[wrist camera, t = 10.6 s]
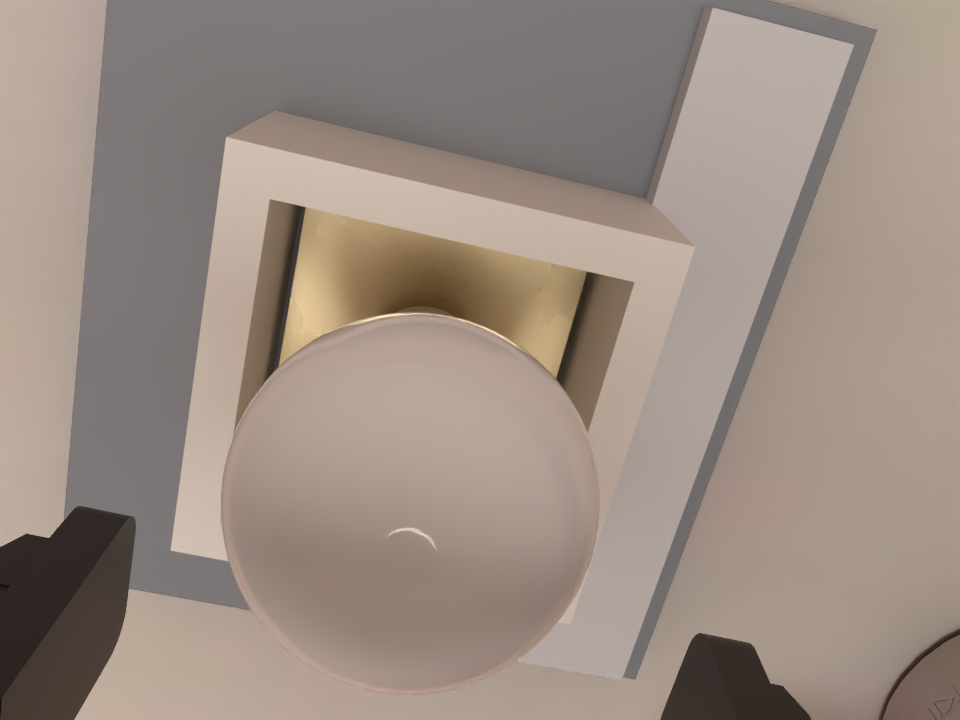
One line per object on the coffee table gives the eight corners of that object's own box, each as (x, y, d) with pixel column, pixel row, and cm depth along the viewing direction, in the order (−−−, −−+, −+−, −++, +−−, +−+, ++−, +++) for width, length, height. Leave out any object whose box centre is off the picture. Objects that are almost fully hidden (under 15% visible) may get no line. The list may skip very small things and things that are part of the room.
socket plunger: (585, 236, 23) (593, 250, 22) (518, 469, 26) (522, 495, 24) (318, 174, 23) (309, 185, 21) (276, 420, 25) (265, 444, 24)
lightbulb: (590, 391, 23) (709, 671, 13) (381, 502, 24) (335, 847, 14) (469, 177, 21) (495, 304, 11) (246, 305, 22) (74, 536, 12)
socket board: (851, 28, 23) (992, 35, 17) (627, 648, 30) (669, 809, 24) (143, -160, 21) (17, -228, 15) (78, 548, 28) (-26, 695, 22)
